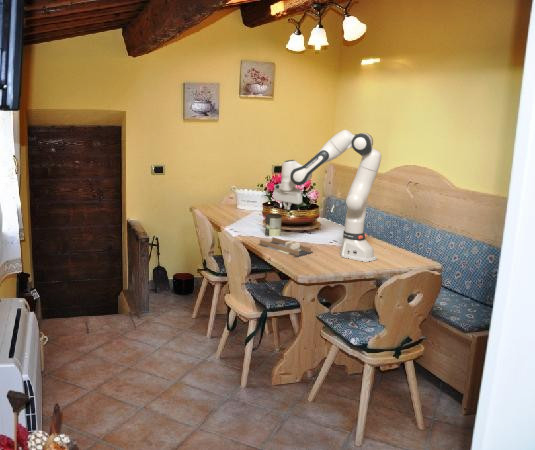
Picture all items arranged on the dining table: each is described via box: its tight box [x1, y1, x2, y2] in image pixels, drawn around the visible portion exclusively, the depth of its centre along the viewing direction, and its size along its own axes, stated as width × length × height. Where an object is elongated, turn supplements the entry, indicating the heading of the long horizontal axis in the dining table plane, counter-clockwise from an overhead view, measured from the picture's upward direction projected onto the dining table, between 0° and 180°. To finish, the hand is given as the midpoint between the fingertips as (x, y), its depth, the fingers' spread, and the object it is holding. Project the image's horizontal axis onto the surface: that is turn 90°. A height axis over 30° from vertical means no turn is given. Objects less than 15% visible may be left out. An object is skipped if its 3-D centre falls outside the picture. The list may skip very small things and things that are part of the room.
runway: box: [257, 236, 314, 258], centre depth 323 cm, size 30×16×4 cm, turn 47°
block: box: [285, 240, 301, 251], centre depth 319 cm, size 6×6×4 cm
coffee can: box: [264, 212, 283, 238], centre depth 353 cm, size 10×10×14 cm
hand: (287, 209), depth 328 cm, fingers closed
